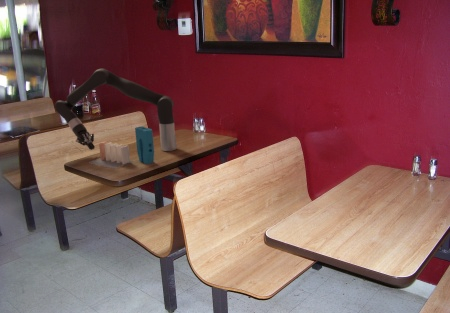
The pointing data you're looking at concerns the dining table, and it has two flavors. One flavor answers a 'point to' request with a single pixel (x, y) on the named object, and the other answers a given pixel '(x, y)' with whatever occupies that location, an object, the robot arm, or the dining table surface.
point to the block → (145, 144)
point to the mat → (108, 163)
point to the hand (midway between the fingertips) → (92, 148)
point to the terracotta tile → (102, 150)
